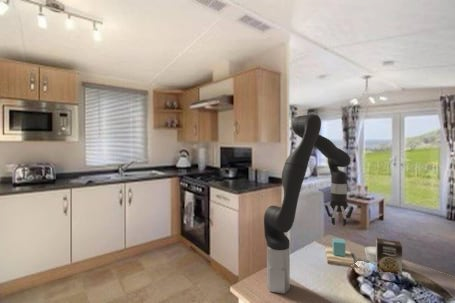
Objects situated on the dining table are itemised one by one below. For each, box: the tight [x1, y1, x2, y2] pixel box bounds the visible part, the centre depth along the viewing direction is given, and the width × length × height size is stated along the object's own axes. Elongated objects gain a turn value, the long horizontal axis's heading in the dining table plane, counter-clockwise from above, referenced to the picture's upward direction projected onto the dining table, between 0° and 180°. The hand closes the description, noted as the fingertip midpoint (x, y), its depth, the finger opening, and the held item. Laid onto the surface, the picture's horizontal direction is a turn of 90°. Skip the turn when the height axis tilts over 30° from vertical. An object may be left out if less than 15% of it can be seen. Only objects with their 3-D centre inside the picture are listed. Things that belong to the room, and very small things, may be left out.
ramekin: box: [364, 246, 376, 263], centre depth 119 cm, size 11×11×5 cm
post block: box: [324, 246, 355, 268], centre depth 123 cm, size 16×12×8 cm
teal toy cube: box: [332, 237, 346, 256], centre depth 123 cm, size 5×5×7 cm
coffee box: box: [375, 237, 403, 276], centre depth 104 cm, size 9×6×16 cm
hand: (338, 224), depth 122 cm, fingers open, 4 cm apart
